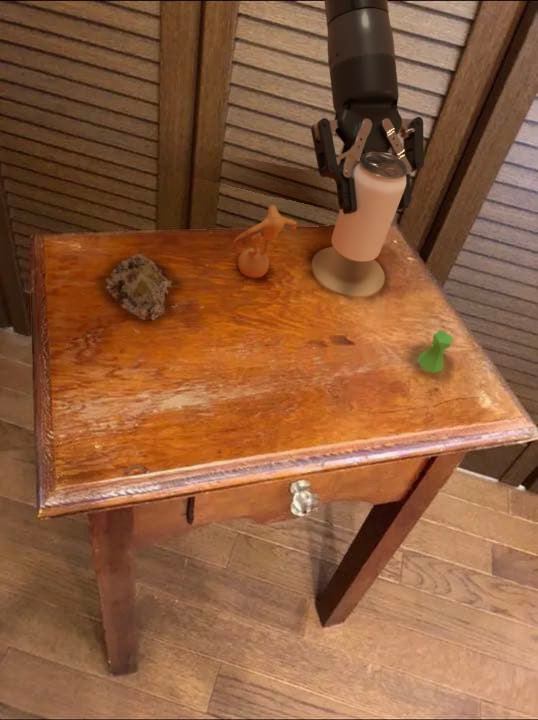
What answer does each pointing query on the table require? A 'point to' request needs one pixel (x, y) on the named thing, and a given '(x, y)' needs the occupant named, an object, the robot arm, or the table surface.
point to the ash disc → (347, 274)
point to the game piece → (435, 352)
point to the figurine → (255, 259)
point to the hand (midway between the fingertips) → (376, 210)
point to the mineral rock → (140, 287)
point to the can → (370, 206)
